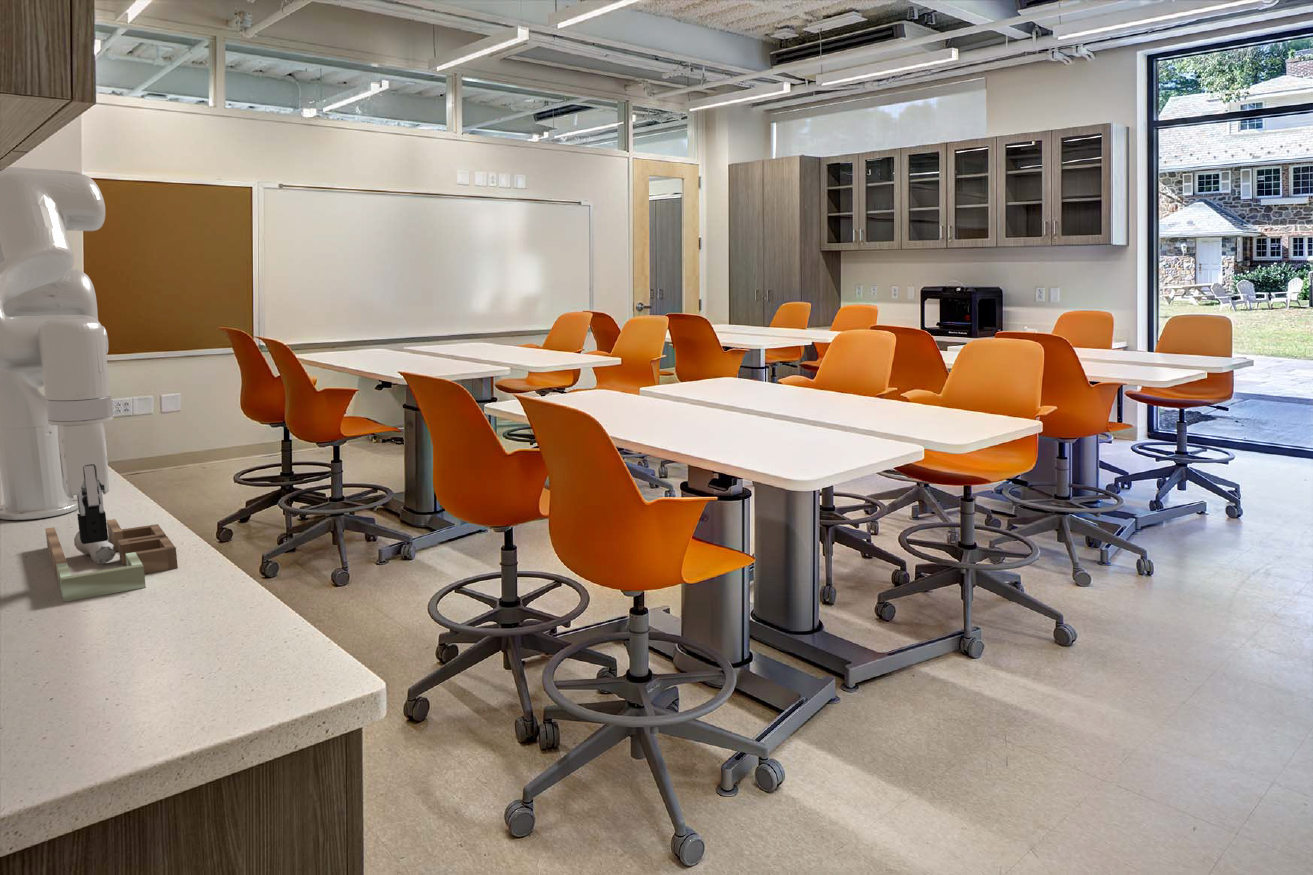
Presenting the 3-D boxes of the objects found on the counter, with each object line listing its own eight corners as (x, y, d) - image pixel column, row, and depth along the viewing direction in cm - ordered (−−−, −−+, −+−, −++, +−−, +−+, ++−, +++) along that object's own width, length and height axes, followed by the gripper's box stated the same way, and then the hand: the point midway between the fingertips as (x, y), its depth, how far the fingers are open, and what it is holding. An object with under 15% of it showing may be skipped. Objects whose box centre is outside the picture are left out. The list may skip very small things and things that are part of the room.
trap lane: (47, 547, 143) (45, 528, 142) (152, 531, 151) (150, 514, 151) (63, 601, 120) (61, 579, 119) (186, 580, 128) (184, 559, 128)
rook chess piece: (86, 558, 140) (100, 575, 135) (66, 537, 138) (80, 553, 132) (113, 539, 142) (128, 555, 137) (94, 518, 140) (109, 533, 134)
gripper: (43, 406, 129) (58, 533, 133) (51, 420, 117) (67, 559, 121) (105, 402, 134) (118, 524, 137) (119, 415, 122) (132, 549, 125)
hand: (94, 540), depth 129 cm, fingers closed
